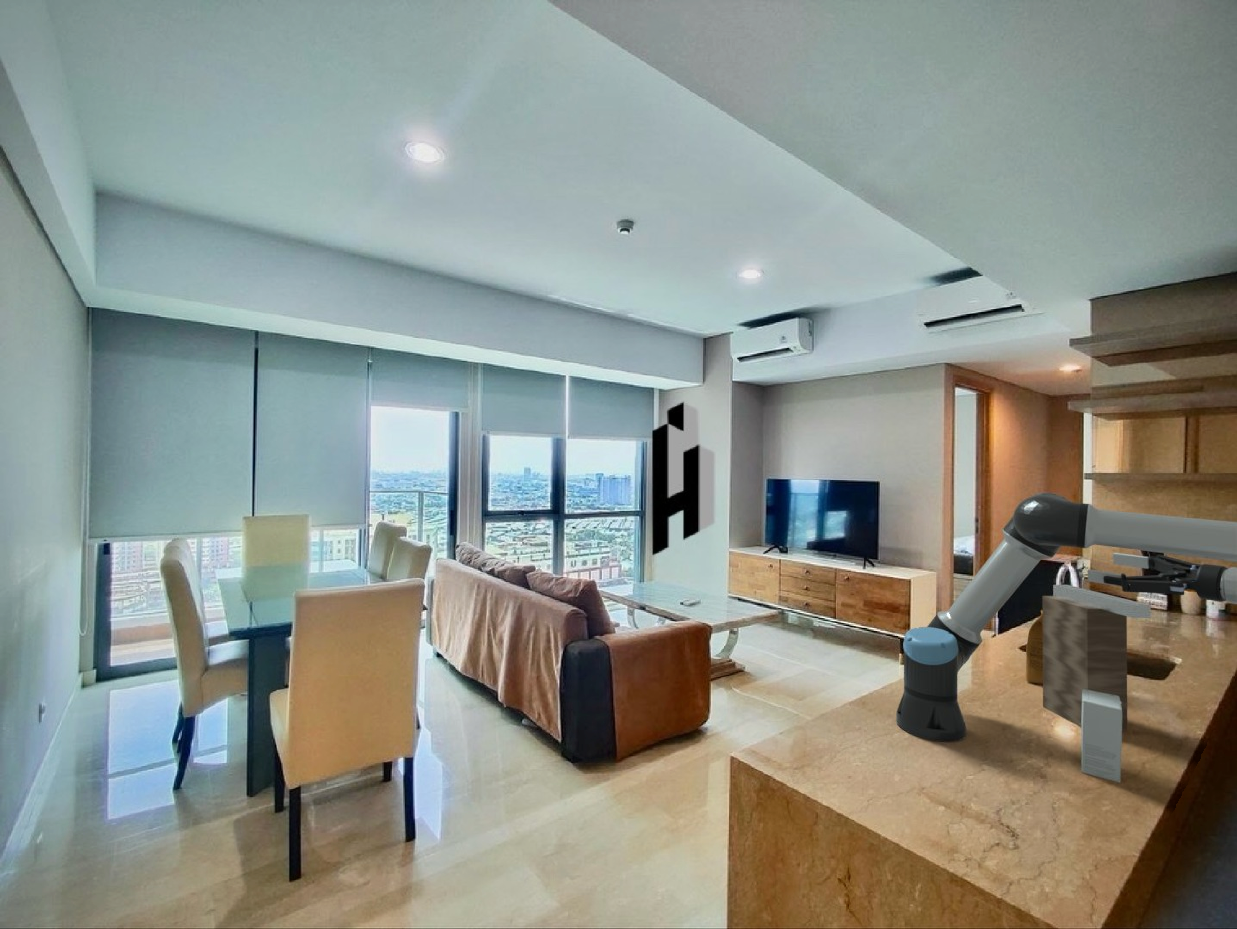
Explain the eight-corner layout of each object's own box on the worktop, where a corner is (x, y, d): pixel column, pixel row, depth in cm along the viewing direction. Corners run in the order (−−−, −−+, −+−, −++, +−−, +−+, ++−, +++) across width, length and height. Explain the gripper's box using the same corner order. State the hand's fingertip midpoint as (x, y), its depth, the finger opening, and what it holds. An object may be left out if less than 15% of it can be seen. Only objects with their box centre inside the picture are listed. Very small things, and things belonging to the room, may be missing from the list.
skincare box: (1081, 757, 124) (1080, 687, 125) (1120, 768, 120) (1120, 695, 120) (1081, 773, 118) (1080, 699, 118) (1123, 784, 114) (1123, 708, 114)
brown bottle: (1072, 681, 170) (1072, 609, 170) (1061, 691, 162) (1061, 615, 162) (1032, 672, 177) (1032, 603, 178) (1020, 681, 170) (1020, 609, 170)
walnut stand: (1127, 730, 138) (1126, 608, 138) (1087, 730, 137) (1087, 608, 138) (1078, 706, 152) (1078, 595, 152) (1042, 706, 151) (1042, 595, 152)
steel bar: (1150, 618, 129) (1150, 605, 129) (1133, 618, 129) (1133, 605, 129) (1067, 595, 152) (1067, 584, 152) (1053, 595, 152) (1053, 584, 152)
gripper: (1205, 622, 112) (1078, 597, 131) (1247, 582, 124) (1125, 565, 142) (1203, 586, 111) (1075, 567, 130) (1245, 550, 123) (1122, 537, 141)
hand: (1101, 566), depth 136 cm, fingers open, 13 cm apart
